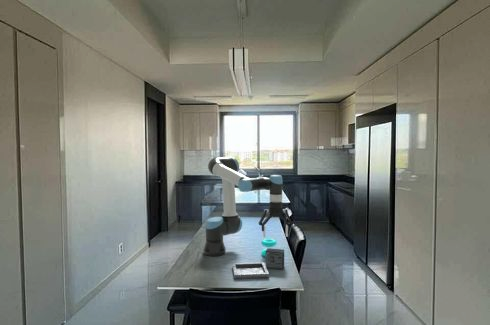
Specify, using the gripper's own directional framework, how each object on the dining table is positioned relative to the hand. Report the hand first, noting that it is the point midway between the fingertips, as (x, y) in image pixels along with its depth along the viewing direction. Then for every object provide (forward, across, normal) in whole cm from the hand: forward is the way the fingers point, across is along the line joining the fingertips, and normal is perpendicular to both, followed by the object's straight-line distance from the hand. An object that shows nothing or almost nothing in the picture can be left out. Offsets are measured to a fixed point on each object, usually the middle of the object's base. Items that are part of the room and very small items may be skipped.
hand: (275, 236), depth 193 cm
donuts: (+19, 0, +21) cm, 28 cm away
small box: (+19, 0, 0) cm, 19 cm away
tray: (+19, -16, -7) cm, 26 cm away
